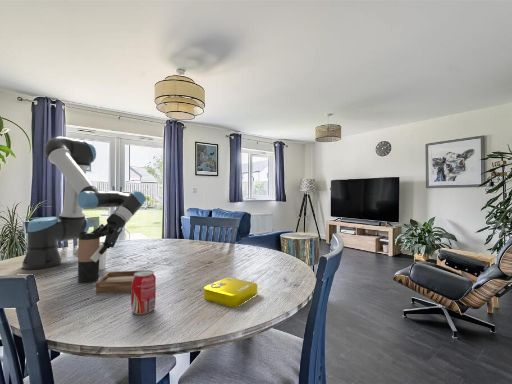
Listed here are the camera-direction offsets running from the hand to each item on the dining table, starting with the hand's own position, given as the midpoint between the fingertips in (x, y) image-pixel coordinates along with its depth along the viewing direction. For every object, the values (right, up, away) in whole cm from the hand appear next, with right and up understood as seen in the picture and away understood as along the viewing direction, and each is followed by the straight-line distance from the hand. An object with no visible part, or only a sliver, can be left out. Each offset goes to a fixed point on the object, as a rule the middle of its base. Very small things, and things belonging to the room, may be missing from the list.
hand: (83, 257), depth 111 cm
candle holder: (-6, -10, +19) cm, 22 cm away
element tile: (+62, -11, -13) cm, 64 cm away
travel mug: (+1, -10, +2) cm, 10 cm away
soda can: (+35, -11, -26) cm, 45 cm away
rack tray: (+18, -10, -4) cm, 21 cm away
